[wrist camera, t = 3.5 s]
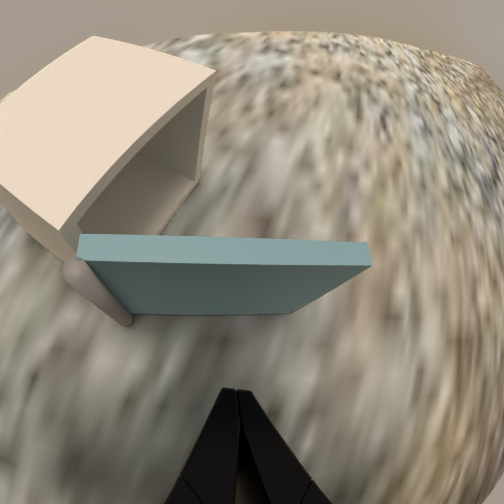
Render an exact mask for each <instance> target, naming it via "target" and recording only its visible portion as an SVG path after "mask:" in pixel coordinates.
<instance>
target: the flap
mask: <svg viewBox="0 0 504 504" xmlns="http://www.w3.org/2000/svg"><path fill="white" fill-rule="evenodd" d="M370 266H372V263H371V257H370V253H369V248H368V243H358V242H336V241H314V240H289V239H263V238H235V237H203V236H167V235H122V234H80V237H79V243H78V250H77V256H76V257H72V258H70V259H68V260H67V261H66V262H65V264H64V266H63V269H62V275H63V278H64V280H65V281H66V282H67V283H68V284H70V285H71V286H72V287H73V288H74V289H76V290H77V291H78V292H79V293H80V294H82V295H83V296H84V297H85V298H87V299H88V300H89V301H90V302H92V303H93V304H94V305H95V306H97V307H98V308H99V309H101V310H102V311H103V312H105V313H106V314H107V315H109V316H110V317H111V318H113V319H114V320H115V321H117V322H118V323H119V324H121V325H122V326H125V327H127V326H130V325H131V324H132V322H133V317H132V315H131V314H130V313H134V314H166V315H250V314H283V313H293V312H295V311H296V310H298V309H300V308H302V307H304V306H305V305H307V304H309V303H311V302H312V301H314V300H316V299H318V298H319V297H321V296H323V295H324V294H326V293H328V292H330V291H331V290H333V289H335V288H336V287H338V286H340V285H341V284H343V283H345V282H346V281H348V280H350V279H351V278H353V277H354V276H356V275H358V274H359V273H361V272H362V271H364V270H366V269H367V268H369V267H370Z"/></svg>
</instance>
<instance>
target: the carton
mask: <svg viewBox="0 0 504 504" xmlns="http://www.w3.org/2000/svg"><path fill="white" fill-rule="evenodd" d="M215 75H216V71H215V70H213V69H210V68H207V67H204V66H202V65H199V64H196V63H193V62H190V61H187V60H184V59H181V58H178V57H175V56H172V55H169V54H165V53H162V52H159V51H155V50H152V49H148V48H144V47H141V46H137V45H133V44H129V43H125V42H121V41H116V40H111V39H107V38H102V37H97V36H92V37H90V38H88V39H87V40H85V41H84V42H82V43H80V44H79V45H77V46H75V47H74V48H72V49H71V50H69V51H68V52H66V53H64V54H63V55H62V56H60V57H59V58H57V59H56V60H54V61H53V62H51V63H50V64H49V65H48V66H46V67H44V68H43V69H42V70H40V71H39V72H38V73H37V74H35V75H34V76H33V77H31V78H30V79H29V80H28V81H26V82H25V83H24V84H23V85H21V86H20V87H19V88H18V89H17V90H16V91H14V92H13V93H12V94H11V95H10V96H9V97H8V98H6V99H5V100H4V101H3V102H2V103H1V104H0V202H1V203H2V205H3V206H4V207H5V208H6V209H7V211H8V212H9V213H10V214H11V215H12V216H13V218H14V219H15V220H16V221H17V222H18V223H19V224H20V226H21V227H22V228H23V229H24V230H25V231H26V232H27V233H28V234H29V235H31V236H32V237H33V238H34V239H35V240H37V241H38V242H39V243H40V244H41V245H43V246H44V247H45V248H46V249H48V250H49V251H50V252H51V253H53V254H54V255H55V256H56V257H58V258H59V259H60V260H62V261H63V262H64V263H65V262H66V261H67V260H68V259H70V258H72V257H76V256H77V250H78V243H79V237H80V234H122V235H160V233H161V232H162V231H163V229H164V228H165V226H166V225H167V224H168V222H169V221H170V219H171V218H172V217H173V215H174V214H175V213H176V211H177V210H178V209H179V207H180V206H181V204H182V203H183V202H184V200H185V199H186V198H187V196H188V195H189V194H190V192H191V191H192V190H193V189H194V187H195V186H196V185H197V183H198V182H199V180H200V172H201V164H202V157H203V149H204V142H205V135H206V129H207V122H208V116H209V109H210V103H211V97H212V92H213V86H214V80H215Z"/></svg>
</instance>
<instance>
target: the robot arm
mask: <svg viewBox="0 0 504 504" xmlns="http://www.w3.org/2000/svg"><path fill="white" fill-rule="evenodd" d="M164 504H332V503H331V502H330V500H329V499H328V498H327V497H326V496H325V494H324V493H323V492H322V491H321V490H320V488H319V487H318V486H317V485H316V483H315V482H314V481H313V480H312V478H311V477H310V475H309V474H308V473H307V471H306V470H305V469H304V467H303V466H302V465H301V463H300V462H299V461H298V459H297V458H296V456H295V455H294V454H293V452H292V451H291V450H290V448H289V447H288V445H287V444H286V442H285V441H284V440H283V438H282V437H281V435H280V434H279V432H278V431H277V430H276V428H275V427H274V425H273V424H272V422H271V421H270V419H269V418H268V416H267V415H266V413H265V412H264V410H263V409H262V407H261V406H260V404H259V403H258V401H257V400H256V398H255V397H254V395H253V393H252V392H251V391H249V390H240V389H238V390H235V389H231V388H222V389H221V390H220V392H219V395H218V397H217V399H216V401H215V403H214V405H213V407H212V409H211V412H210V414H209V416H208V418H207V420H206V422H205V424H204V426H203V428H202V430H201V432H200V434H199V437H198V439H197V441H196V443H195V445H194V447H193V449H192V451H191V453H190V455H189V457H188V459H187V461H186V463H185V465H184V467H183V469H182V471H181V473H180V476H179V477H178V479H177V481H176V483H175V485H174V487H173V488H172V490H171V492H170V494H169V495H168V497H167V499H166V501H165V502H164Z"/></svg>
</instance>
